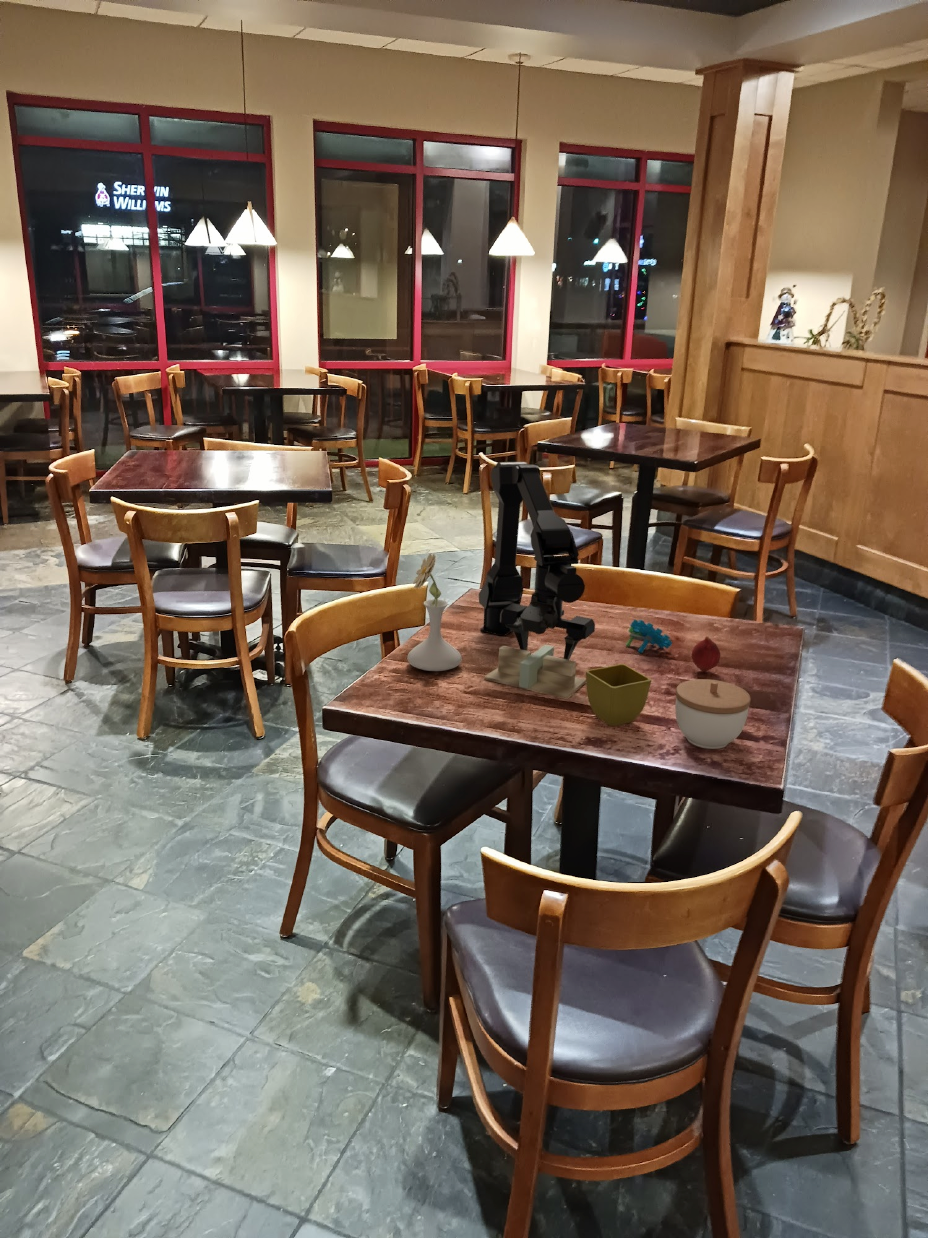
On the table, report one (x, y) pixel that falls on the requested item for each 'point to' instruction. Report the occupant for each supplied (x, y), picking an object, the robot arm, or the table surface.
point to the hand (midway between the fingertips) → (544, 660)
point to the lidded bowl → (711, 712)
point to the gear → (647, 635)
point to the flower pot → (617, 693)
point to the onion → (706, 654)
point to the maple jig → (550, 677)
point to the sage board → (533, 666)
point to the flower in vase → (433, 629)
